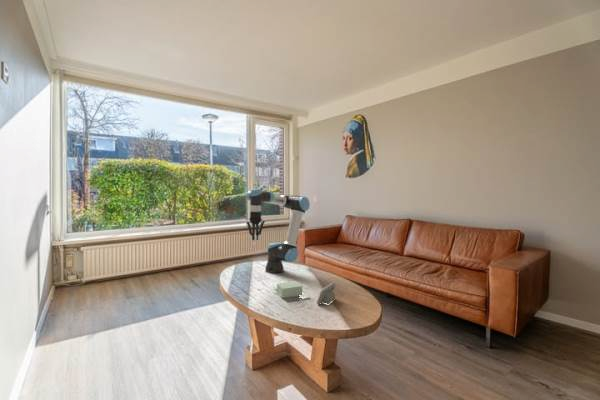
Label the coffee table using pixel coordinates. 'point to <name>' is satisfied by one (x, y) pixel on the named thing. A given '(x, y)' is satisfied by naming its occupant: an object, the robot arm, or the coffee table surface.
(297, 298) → the felt pad
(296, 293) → the sage block
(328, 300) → the digital clock
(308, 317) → the coffee table surface
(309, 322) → the coffee table surface
